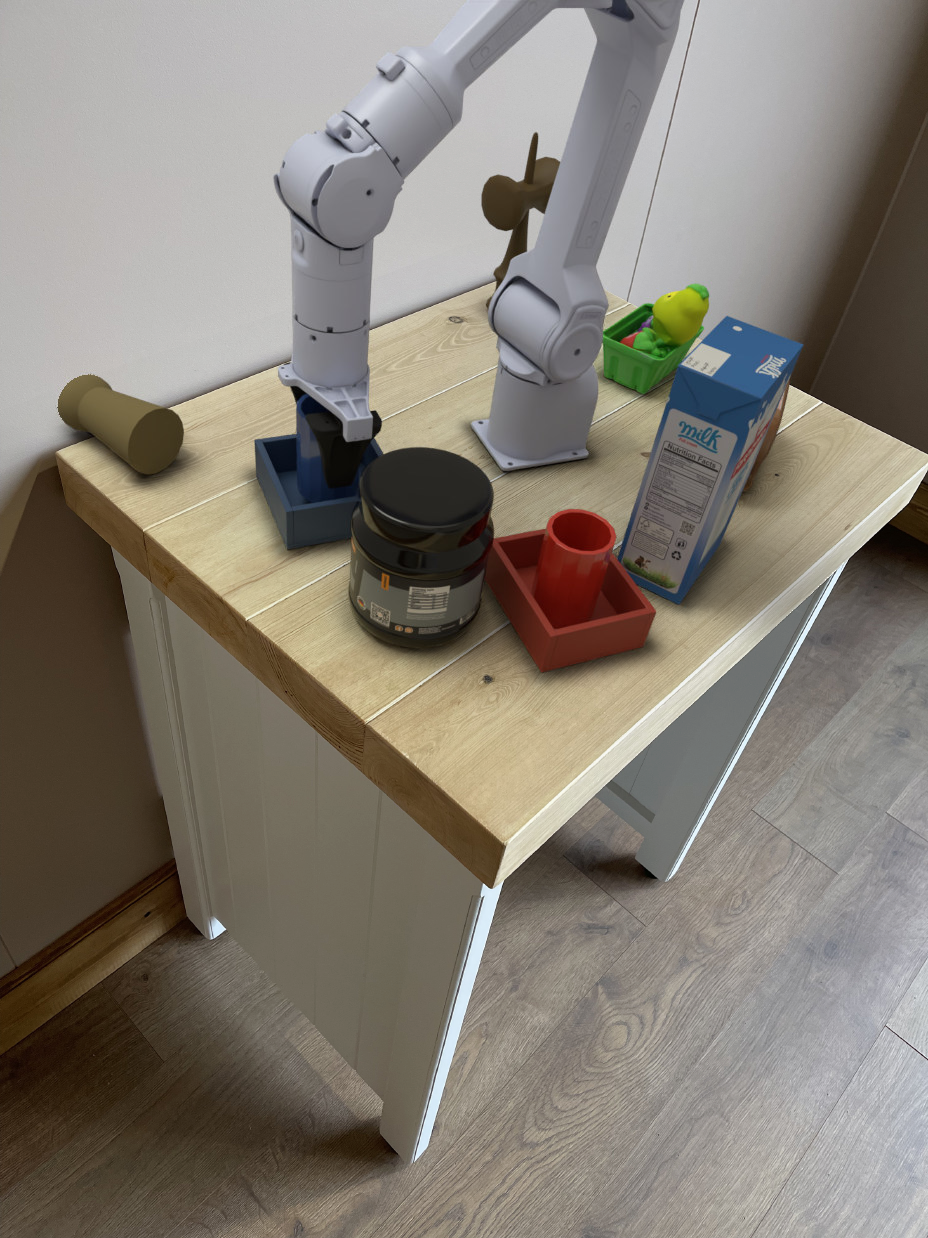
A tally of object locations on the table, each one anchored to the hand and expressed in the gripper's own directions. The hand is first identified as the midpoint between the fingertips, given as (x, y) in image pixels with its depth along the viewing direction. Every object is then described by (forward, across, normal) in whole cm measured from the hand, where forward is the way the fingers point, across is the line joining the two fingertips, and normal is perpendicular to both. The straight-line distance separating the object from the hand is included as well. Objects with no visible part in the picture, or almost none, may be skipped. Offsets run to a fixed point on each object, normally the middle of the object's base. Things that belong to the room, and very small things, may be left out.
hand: (328, 463), depth 78 cm
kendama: (+4, -29, +31) cm, 43 cm away
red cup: (+4, +18, +14) cm, 23 cm away
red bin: (+4, +18, +14) cm, 23 cm away
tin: (+4, +5, +42) cm, 42 cm away
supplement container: (+4, +14, +3) cm, 15 cm away
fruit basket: (+4, -13, +41) cm, 43 cm away
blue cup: (+2, 0, 0) cm, 2 cm away
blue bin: (+4, 0, 0) cm, 4 cm away
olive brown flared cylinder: (+1, -8, -13) cm, 15 cm away
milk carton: (+4, +15, +26) cm, 31 cm away
